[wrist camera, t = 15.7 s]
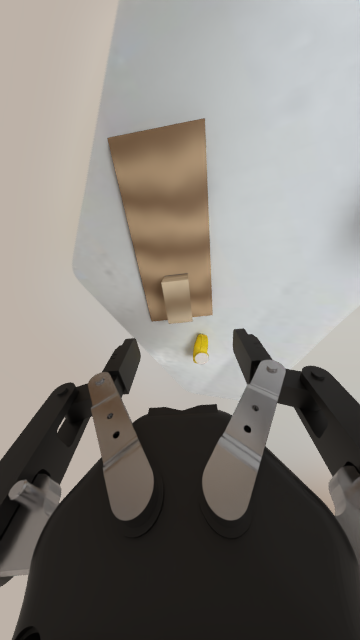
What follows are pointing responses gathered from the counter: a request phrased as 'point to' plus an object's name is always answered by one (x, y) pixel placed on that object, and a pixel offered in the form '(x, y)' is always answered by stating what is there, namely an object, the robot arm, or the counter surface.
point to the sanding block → (177, 298)
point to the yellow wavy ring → (201, 350)
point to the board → (167, 209)
